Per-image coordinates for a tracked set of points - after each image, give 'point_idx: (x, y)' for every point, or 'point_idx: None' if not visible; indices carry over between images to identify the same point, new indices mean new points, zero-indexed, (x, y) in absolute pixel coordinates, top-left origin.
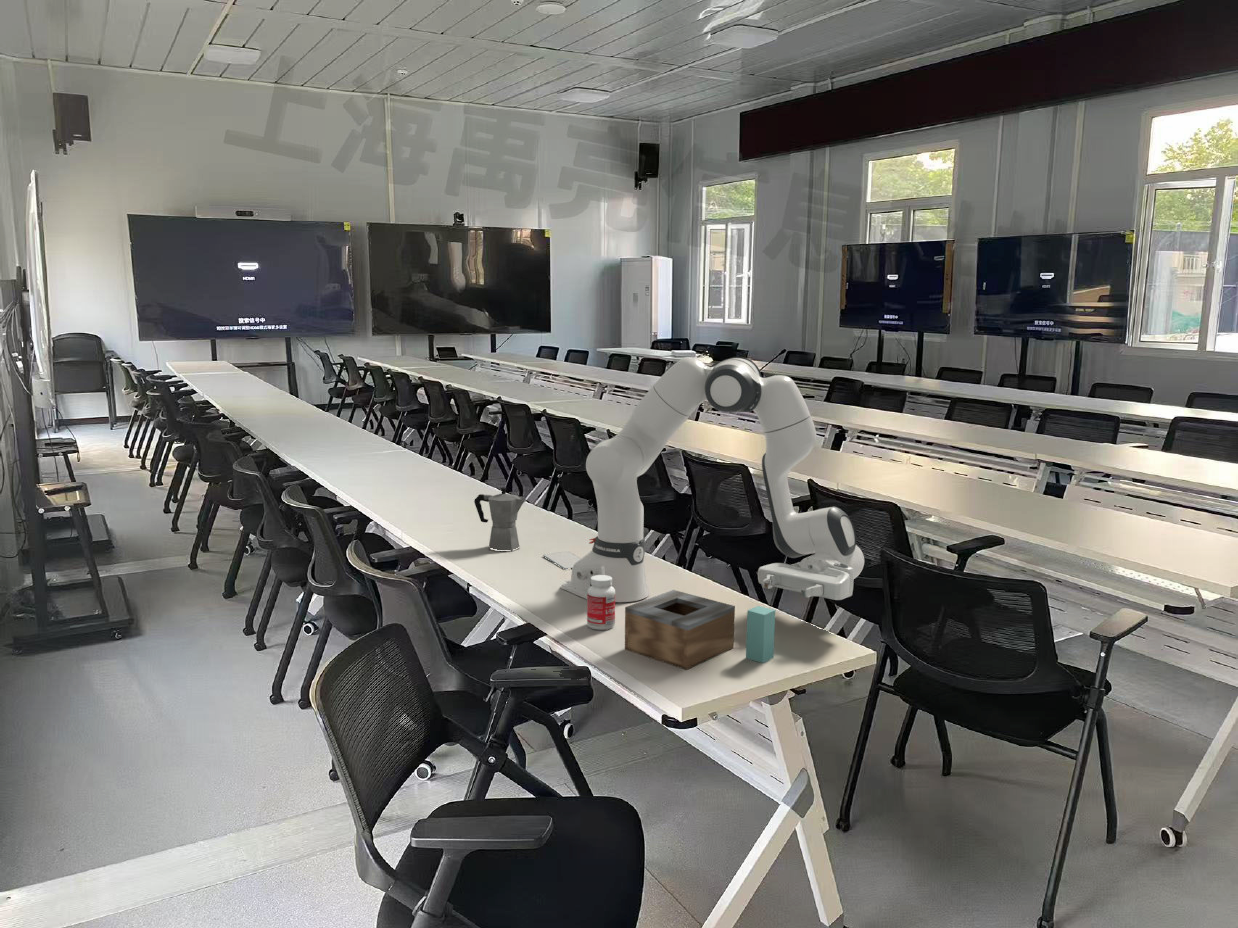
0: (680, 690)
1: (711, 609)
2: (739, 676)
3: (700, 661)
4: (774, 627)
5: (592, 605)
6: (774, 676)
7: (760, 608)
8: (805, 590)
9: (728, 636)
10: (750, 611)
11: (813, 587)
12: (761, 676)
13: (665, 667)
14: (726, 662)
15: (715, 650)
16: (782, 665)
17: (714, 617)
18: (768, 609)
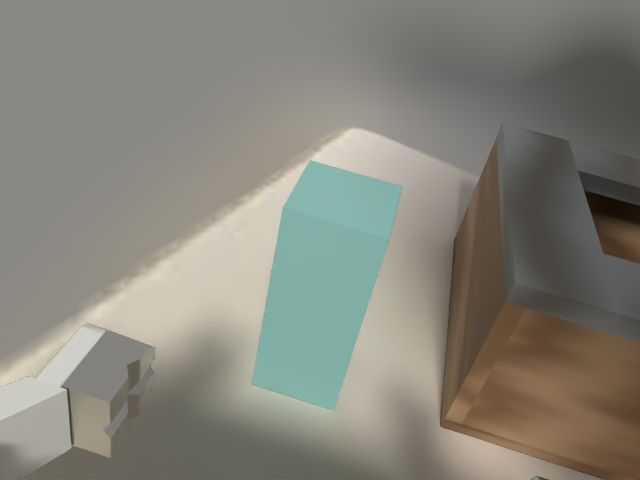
0: (398, 167)
1: (559, 227)
2: None
3: (453, 273)
4: (270, 279)
5: None
6: (212, 253)
7: (361, 212)
8: (111, 333)
9: (463, 353)
10: (385, 183)
11: (13, 386)
12: (251, 246)
13: None
14: (389, 302)
15: (454, 316)
16: (200, 327)
17: (502, 202)
18: (319, 207)
